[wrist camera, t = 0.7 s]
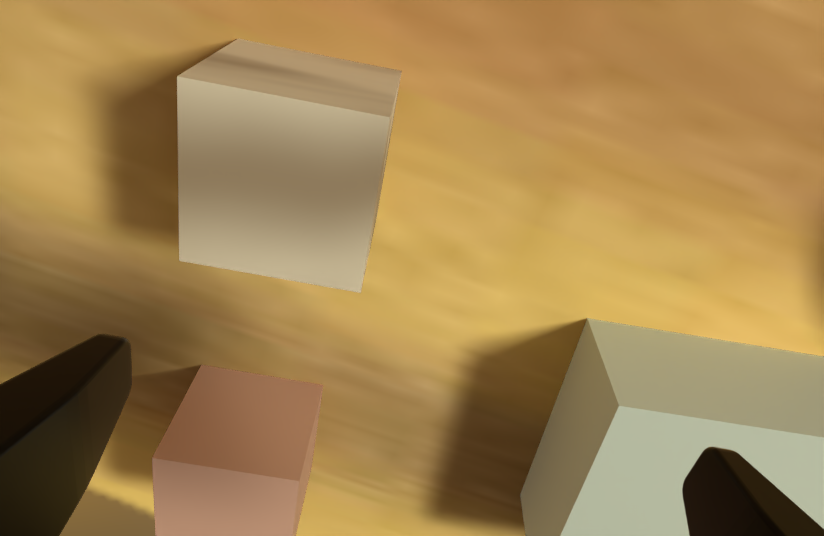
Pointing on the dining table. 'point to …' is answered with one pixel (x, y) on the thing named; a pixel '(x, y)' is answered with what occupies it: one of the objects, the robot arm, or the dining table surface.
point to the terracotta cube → (236, 456)
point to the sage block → (670, 429)
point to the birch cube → (282, 162)
